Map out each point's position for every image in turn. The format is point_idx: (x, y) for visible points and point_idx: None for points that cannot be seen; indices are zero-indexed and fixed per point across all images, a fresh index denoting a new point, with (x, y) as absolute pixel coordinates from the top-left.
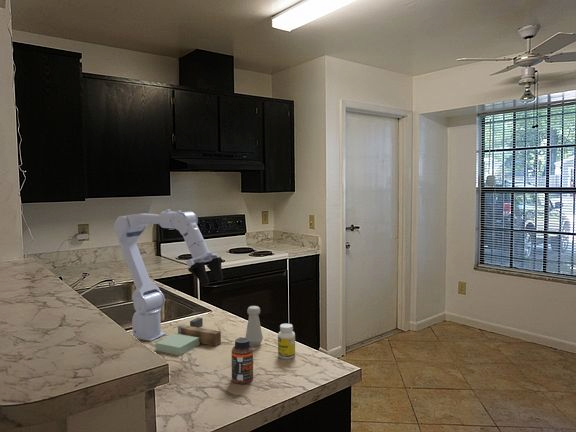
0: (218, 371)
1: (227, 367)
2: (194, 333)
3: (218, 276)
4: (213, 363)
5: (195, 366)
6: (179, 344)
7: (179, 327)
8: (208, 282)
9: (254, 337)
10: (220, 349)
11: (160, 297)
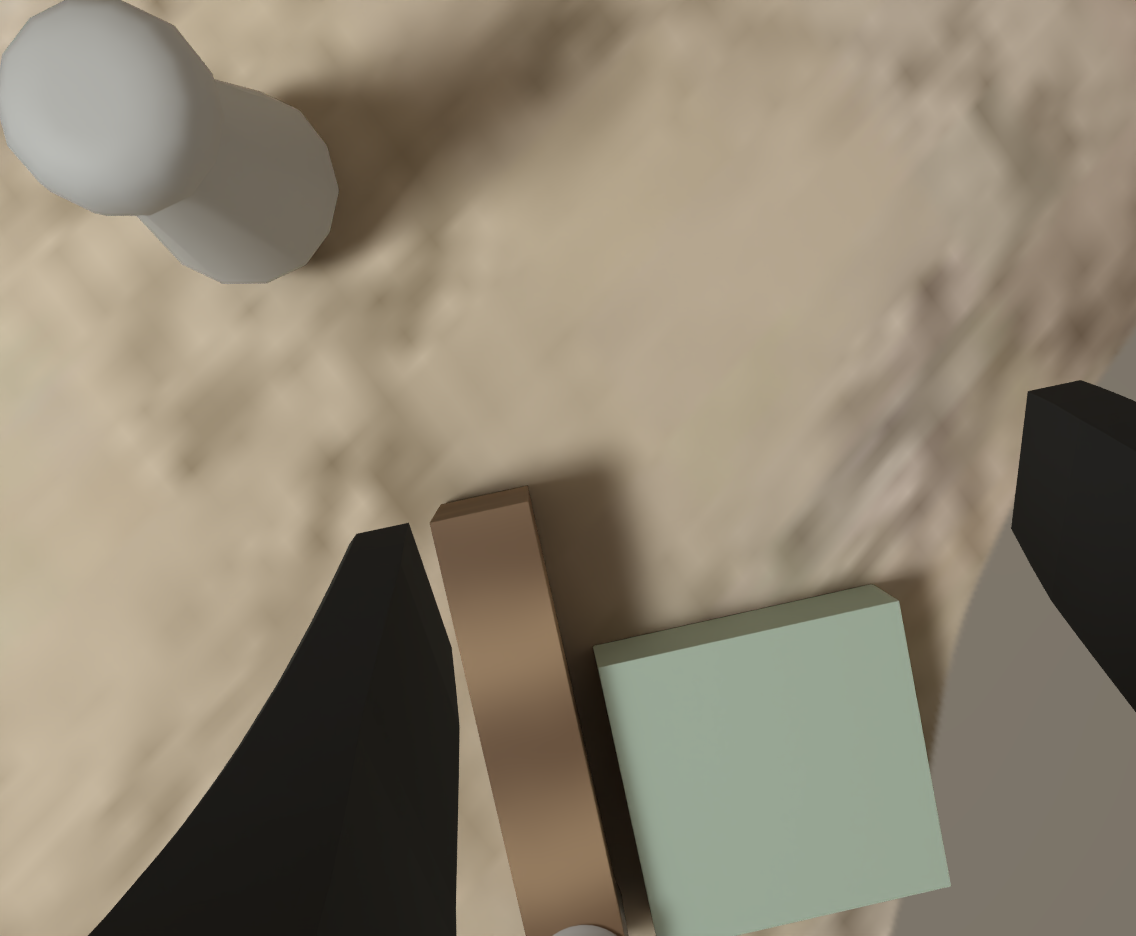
0: (916, 36)
1: (812, 30)
2: (586, 761)
3: (425, 680)
4: (822, 200)
5: (956, 282)
6: (845, 670)
7: None
8: (1097, 386)
9: (293, 116)
10: (554, 391)
11: None
